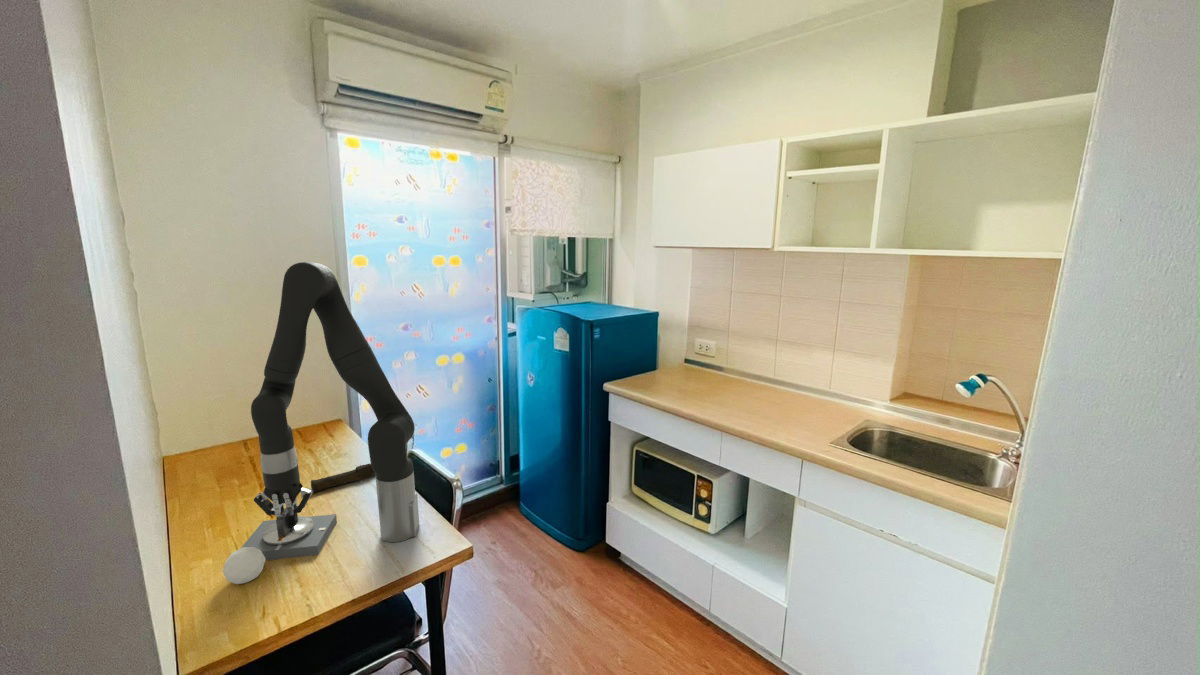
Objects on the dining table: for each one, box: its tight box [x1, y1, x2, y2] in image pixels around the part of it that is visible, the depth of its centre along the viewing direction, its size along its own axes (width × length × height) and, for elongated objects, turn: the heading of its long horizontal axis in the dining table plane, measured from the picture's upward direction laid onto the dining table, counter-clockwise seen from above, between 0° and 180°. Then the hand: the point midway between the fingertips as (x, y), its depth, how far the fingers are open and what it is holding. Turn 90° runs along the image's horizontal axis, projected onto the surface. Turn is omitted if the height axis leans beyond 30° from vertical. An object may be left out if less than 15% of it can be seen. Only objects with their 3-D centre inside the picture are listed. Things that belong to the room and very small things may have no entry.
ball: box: [222, 546, 266, 585], centre depth 109 cm, size 8×8×8 cm
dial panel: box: [239, 513, 338, 561], centre depth 123 cm, size 18×14×3 cm
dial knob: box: [263, 507, 314, 545], centre depth 122 cm, size 11×11×6 cm
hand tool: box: [310, 463, 375, 494], centre depth 152 cm, size 19×4×5 cm, turn 126°
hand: (288, 526), depth 122 cm, fingers closed
